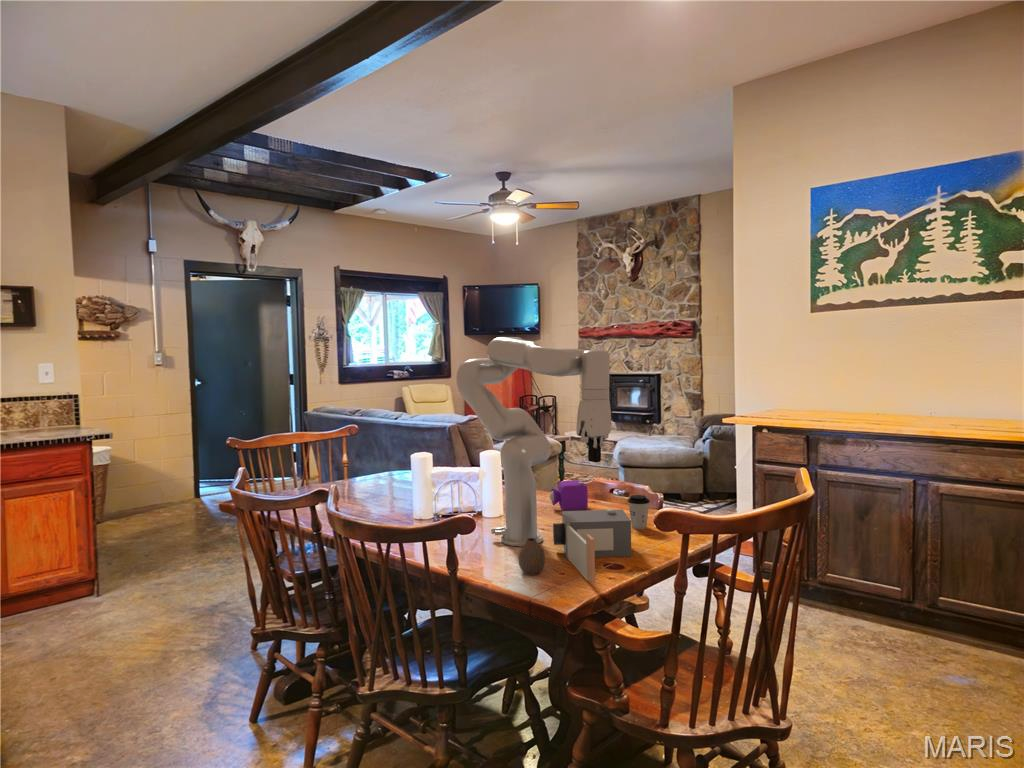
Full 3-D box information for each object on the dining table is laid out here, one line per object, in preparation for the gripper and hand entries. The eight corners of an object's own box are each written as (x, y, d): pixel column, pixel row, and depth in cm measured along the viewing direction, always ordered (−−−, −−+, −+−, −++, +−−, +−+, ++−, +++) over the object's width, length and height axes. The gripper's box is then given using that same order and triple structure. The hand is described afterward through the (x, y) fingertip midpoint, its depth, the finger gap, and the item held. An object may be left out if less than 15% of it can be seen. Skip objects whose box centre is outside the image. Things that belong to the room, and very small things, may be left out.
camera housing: (555, 558, 168) (554, 519, 168) (552, 544, 180) (551, 508, 180) (631, 556, 168) (631, 517, 168) (623, 542, 180) (622, 506, 180)
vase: (517, 568, 162) (516, 535, 161) (543, 567, 162) (542, 534, 162) (519, 578, 155) (518, 544, 154) (546, 576, 155) (545, 542, 155)
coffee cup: (649, 524, 198) (649, 494, 198) (650, 530, 191) (650, 499, 191) (628, 524, 200) (627, 494, 199) (628, 530, 193) (627, 499, 192)
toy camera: (546, 507, 224) (545, 480, 224) (580, 503, 229) (579, 477, 228) (556, 514, 214) (556, 486, 214) (592, 510, 218) (591, 482, 218)
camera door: (566, 558, 168) (565, 515, 167) (570, 558, 168) (569, 515, 168) (591, 588, 146) (590, 539, 146) (596, 588, 147) (595, 539, 146)
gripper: (601, 392, 174) (600, 456, 175) (566, 395, 164) (566, 463, 165) (623, 394, 169) (622, 459, 170) (588, 398, 158) (587, 467, 160)
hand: (594, 461), depth 168 cm, fingers closed
